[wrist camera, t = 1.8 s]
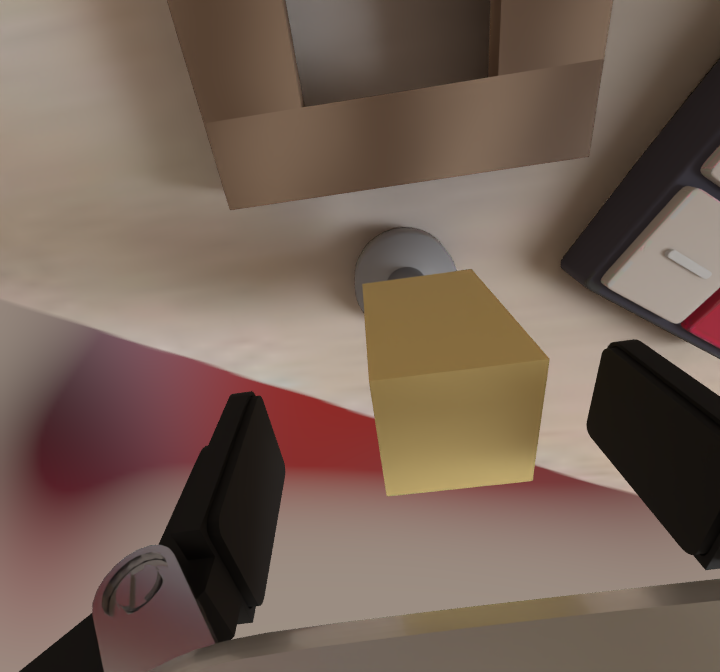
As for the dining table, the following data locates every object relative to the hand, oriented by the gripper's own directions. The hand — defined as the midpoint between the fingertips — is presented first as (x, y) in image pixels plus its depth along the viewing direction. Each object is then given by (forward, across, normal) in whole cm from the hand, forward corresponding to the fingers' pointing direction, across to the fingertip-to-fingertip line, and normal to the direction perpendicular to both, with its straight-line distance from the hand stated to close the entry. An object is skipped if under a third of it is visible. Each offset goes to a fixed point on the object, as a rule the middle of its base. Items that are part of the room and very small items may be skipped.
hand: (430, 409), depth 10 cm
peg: (+10, -1, 0) cm, 10 cm away
